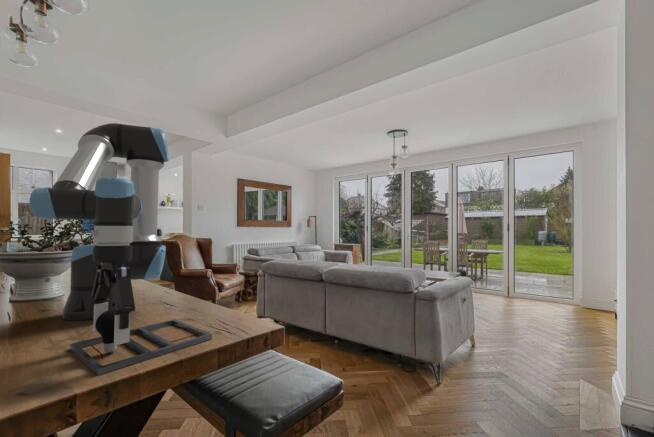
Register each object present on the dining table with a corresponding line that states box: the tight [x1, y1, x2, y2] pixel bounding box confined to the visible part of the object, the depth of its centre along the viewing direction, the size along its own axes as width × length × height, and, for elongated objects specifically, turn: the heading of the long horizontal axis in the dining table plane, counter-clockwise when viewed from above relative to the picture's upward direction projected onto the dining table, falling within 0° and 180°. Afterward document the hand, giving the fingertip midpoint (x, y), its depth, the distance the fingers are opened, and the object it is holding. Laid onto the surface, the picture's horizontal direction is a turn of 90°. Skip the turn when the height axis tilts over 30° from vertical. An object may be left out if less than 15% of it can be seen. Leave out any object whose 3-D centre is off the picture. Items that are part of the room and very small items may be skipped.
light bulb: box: [95, 310, 118, 355], centre depth 71 cm, size 6×6×10 cm
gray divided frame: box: [69, 318, 213, 376], centre depth 77 cm, size 20×25×1 cm
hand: (110, 336), depth 70 cm, fingers open, 13 cm apart
